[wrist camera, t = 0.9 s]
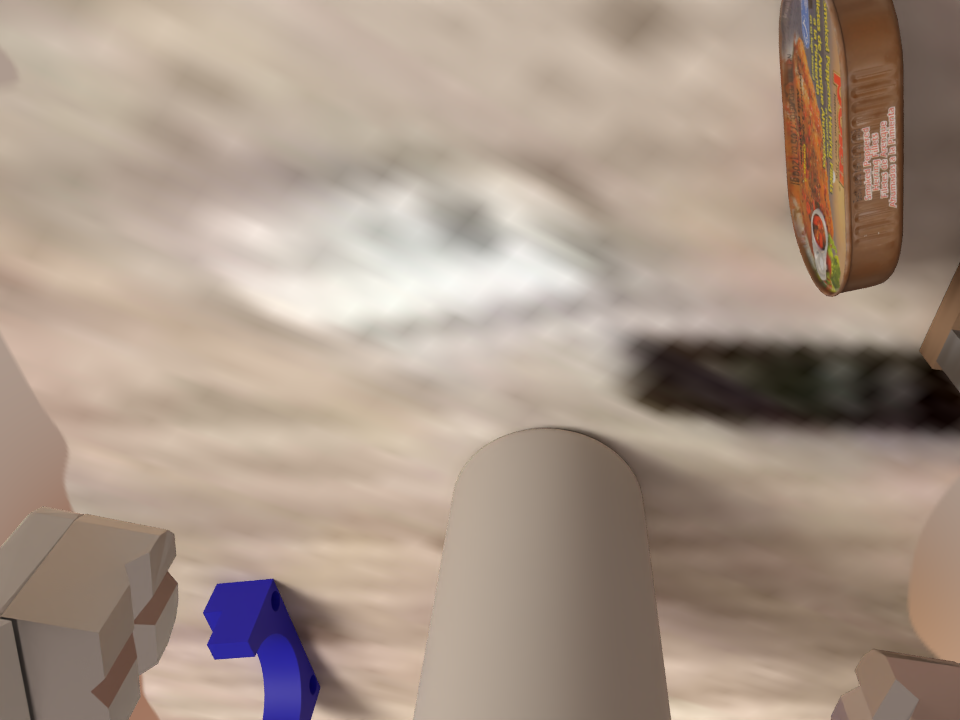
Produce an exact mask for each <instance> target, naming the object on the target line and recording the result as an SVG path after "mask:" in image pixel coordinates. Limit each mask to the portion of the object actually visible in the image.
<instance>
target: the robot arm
mask: <svg viewBox="0 0 960 720" xmlns="http://www.w3.org/2000/svg"><path fill="white" fill-rule="evenodd" d="M175 557H176V547H175V537H174V533H172V532H170V531H169V530H166V529H161V528H156V527H151V526H146V525H141V524H136V523H130V522H125V521H120V520H115V519H110V518H105V517H100V516H95V515H90V514H85V515H84V514H79V513H74V512H69V511H64V510H59V509H54V508H49V507H44V506H43V507H41V508H39V509H37V510H35V511H33V512H31V513H30V514H29V515H28V516H27V517H26V518H25V519H24V520H23V522H22V523H21V524H20V525H19V526H18V528H17V529H16V530H15V531H14V532H13V533H12V534H11V535H10V537H9V538H8V539H7V540H6V541H5V542H4V544H3V545H2V546H1V547H0V720H128V719H129V717H130V716H131V714H132V712H133V710H134V708H135V706H136V704H137V702H138V700H139V699H140V685H139V675H141V674H142V673H144V672H146V671H147V670H149V669H150V668H152V667H153V666H155V665H157V664H158V662H159V660H160V658H161V656H162V654H163V652H164V650H165V648H166V646H167V644H168V642H169V638H170V635H171V632H172V629H173V626H174V622H175V619H176V613H177V606H178V583H177V582H176V581H175V579H174V578H173V577H172V576H171V575H170V573H169V572H168V569H169V567H170V565H171V564H172V562H173V560H174V558H175ZM855 673H856V675H857V678H858V681H859V684H860V686H859V687H857V688H855V689H853V690H851V691H849V692H847V693H845V694H844V695H842V696H841V697H840V699H839V701H838V703H837V705H836V707H835V709H834V711H833V713H832V715H831V720H960V663H956V662H953V661H946V660H940V659H934V658H927V657H921V656H915V655H909V654H902V653H896V652H890V651H884V650H877V649H872V650H871V651H869V652H868V653H866V654H865V655H863V657H862V659H861V660H860V662H859V664H858V666H857V667H856V669H855Z"/></svg>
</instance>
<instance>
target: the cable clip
mask: <svg viewBox="0 0 960 720" xmlns="http://www.w3.org/2000/svg"><path fill="white" fill-rule="evenodd" d="M203 614H204V616H205V618H206V620H207V622H208V624H209V626H210V628H211V630H212V631H213V633H212V635H211V637H210V639H209V641H208V644H207V646H208V648H209V649H210V651H211V653H212V655H213V657H214V659H215V660H216V659H229V658H242V657H255V655H256V653H257V654H258V657H259V660H260V663H261V667H262V672H263V678H264V693H265V699H264V713H263V720H311V717H312V714H313V710H314V707H315V704H316V700H317V697H318V693H319V690H320V685H319V683H318V681H317V678H316V676H315V674H314V671H313V669H312V667H311V665H310V662H309V660H308V658H307V655H306V653H305V651H304V648H303V646H302V644H301V642H300V639H299V637H298V635H297V632H296V630H295V628H294V625H293V623H292V621H291V619H290V616H289V614H288V612H287V609H286V607H285V605H284V603H283V600H282V598H281V596H280V593H279V591H278V589H277V586H276V584H275V582H274V580H273V579H266V580H255V581H244V582H233V583H222V584H217V585H216V587H215V589H214V591H213V593H212V595H211V597H210V600H209V602H208V604H207V606H206V608H205V610H204V612H203Z"/></svg>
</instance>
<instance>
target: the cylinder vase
mask: <svg viewBox="0 0 960 720" xmlns="http://www.w3.org/2000/svg"><path fill="white" fill-rule="evenodd" d="M413 720H671V715H670V707H669V700H668V692H667V684H666V676H665V668H664V660H663V653H662V645H661V637H660V629H659V621H658V613H657V605H656V598H655V590H654V582H653V574H652V566H651V558H650V550H649V543H648V535H647V527H646V519H645V511H644V503H643V497H642V492H641V489H640V486H639V483H638V481H637V479H636V477H635V475H634V473H633V472H632V470H631V469H630V467H629V466H628V465H627V463H626V462H625V461H624V460H623V459H622V458H621V457H620V456H619V455H618V454H617V453H615V452H614V451H613V450H612V449H610V448H609V447H607V446H606V445H604V444H603V443H601V442H599V441H597V440H595V439H593V438H591V437H588V436H586V435H583V434H580V433H576V432H572V431H568V430H562V429H551V428H539V429H529V430H523V431H518V432H514V433H511V434H508V435H505V436H503V437H500V438H498V439H496V440H494V441H492V442H491V443H489V444H487V445H486V446H484V447H483V448H482V449H480V450H479V451H478V452H477V453H476V454H474V455H473V456H472V457H471V459H470V460H469V461H468V462H467V463H466V465H465V466H464V467H463V469H462V471H461V472H460V474H459V476H458V479H457V481H456V484H455V487H454V491H453V497H452V502H451V508H450V514H449V519H448V525H447V531H446V536H445V542H444V548H443V553H442V559H441V565H440V570H439V576H438V582H437V587H436V593H435V599H434V604H433V610H432V615H431V621H430V627H429V632H428V638H427V644H426V649H425V655H424V661H423V666H422V672H421V678H420V683H419V689H418V695H417V700H416V706H415V712H414V717H413Z"/></svg>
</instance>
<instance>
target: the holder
mask: <svg viewBox="0 0 960 720" xmlns="http://www.w3.org/2000/svg"><path fill="white" fill-rule="evenodd" d="M919 351H920V353H921V354H922V355H923V357H924V358H925V359H926V361H927V362H928V363H929V365H930V366H931V367H932V369H938V370H943V371H944V372H945V373H946V375H947V376H948V377H949V379H950V380H951V381H952V382H953V384H954V385H955V386H956V388H957V389H958V390H959V392H960V264H959V266H958V268H957V270H956V272H955V274H954V277H953V279H952V281H951V283H950V285H949V287H948V290H947V292H946V294H945V296H944V298H943V300H942V303H941V305H940V307H939V309H938V311H937V313H936V315H935V318H934V320H933V322H932V324H931V326H930V328H929V331H928V333H927V335H926V337H925V339H924V341H923V344H922V346H921V348H920V350H919Z"/></svg>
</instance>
